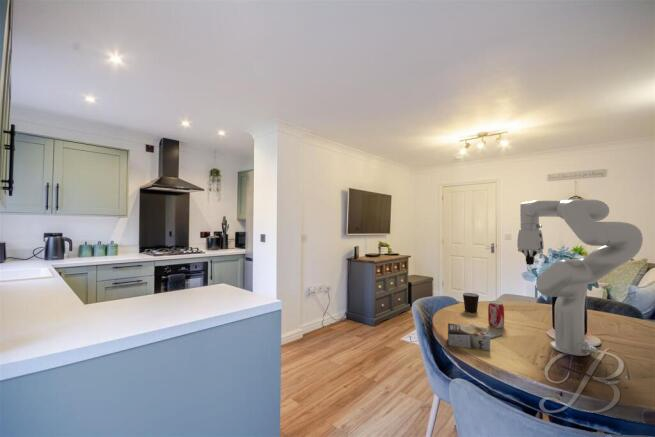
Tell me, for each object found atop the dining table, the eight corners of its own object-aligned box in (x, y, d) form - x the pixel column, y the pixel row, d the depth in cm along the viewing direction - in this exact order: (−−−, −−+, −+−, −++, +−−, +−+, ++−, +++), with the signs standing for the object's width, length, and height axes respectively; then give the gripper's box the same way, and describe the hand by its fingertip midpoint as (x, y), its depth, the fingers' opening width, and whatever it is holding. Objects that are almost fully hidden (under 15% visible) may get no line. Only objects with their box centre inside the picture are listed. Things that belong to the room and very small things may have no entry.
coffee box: (490, 336, 121) (448, 331, 127) (490, 351, 121) (448, 345, 127) (487, 327, 130) (447, 322, 135) (487, 341, 130) (447, 336, 136)
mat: (501, 335, 137) (501, 334, 137) (479, 342, 130) (479, 341, 130) (471, 325, 151) (471, 324, 151) (450, 331, 143) (450, 330, 143)
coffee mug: (467, 308, 181) (466, 291, 181) (481, 311, 174) (481, 294, 174) (457, 312, 173) (457, 295, 174) (472, 315, 167) (472, 297, 167)
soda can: (506, 329, 146) (506, 305, 146) (490, 328, 147) (490, 304, 147) (501, 324, 153) (501, 301, 153) (486, 323, 154) (486, 300, 154)
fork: (562, 365, 110) (562, 360, 110) (620, 386, 96) (620, 380, 96) (558, 367, 108) (558, 362, 108) (617, 389, 94) (617, 382, 94)
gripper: (550, 227, 141) (551, 265, 140) (518, 226, 154) (518, 262, 154) (542, 227, 137) (542, 267, 137) (509, 226, 150) (509, 263, 150)
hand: (529, 264), depth 145 cm, fingers closed
